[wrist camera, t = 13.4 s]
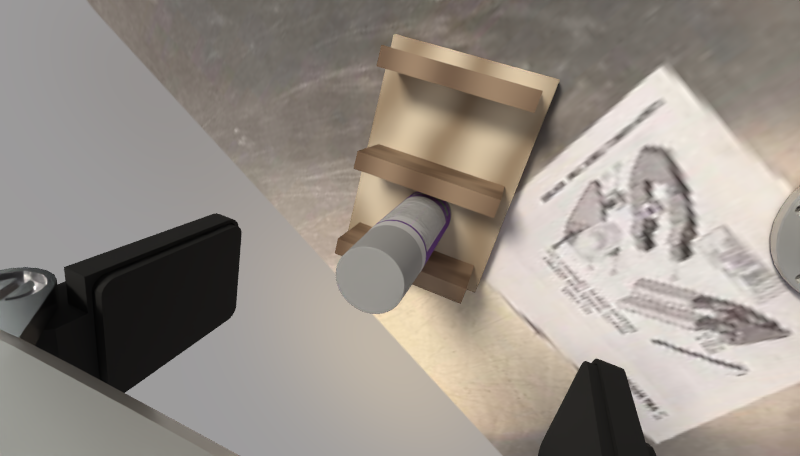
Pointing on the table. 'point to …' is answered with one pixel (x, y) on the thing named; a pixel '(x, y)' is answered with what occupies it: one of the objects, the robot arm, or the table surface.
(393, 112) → the slot rack
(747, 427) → the table surface
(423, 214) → the container
